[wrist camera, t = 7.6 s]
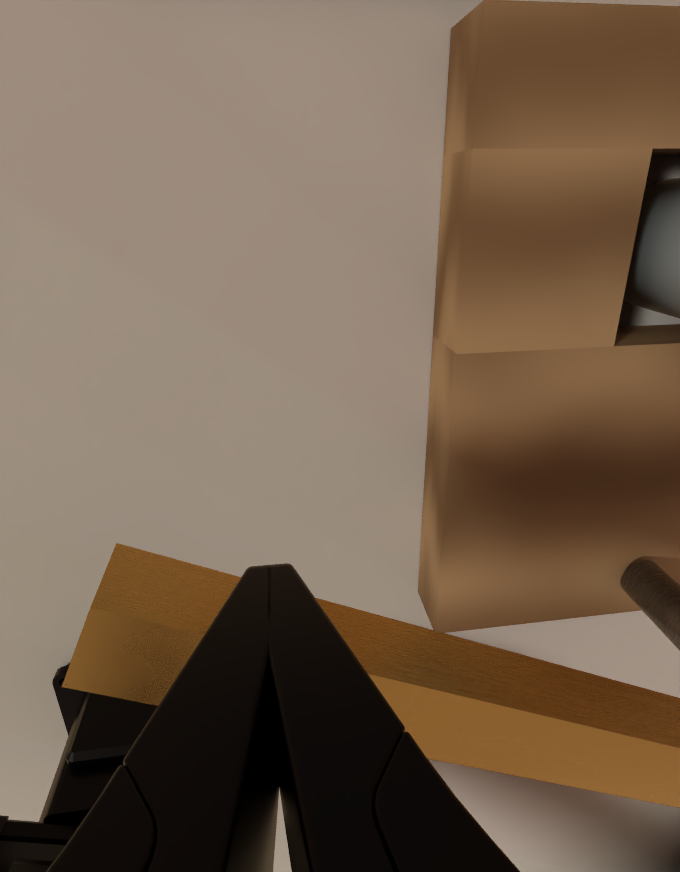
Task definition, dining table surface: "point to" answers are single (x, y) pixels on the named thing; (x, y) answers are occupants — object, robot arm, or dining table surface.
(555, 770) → the bar
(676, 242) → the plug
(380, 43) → the dining table surface
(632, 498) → the socket base
